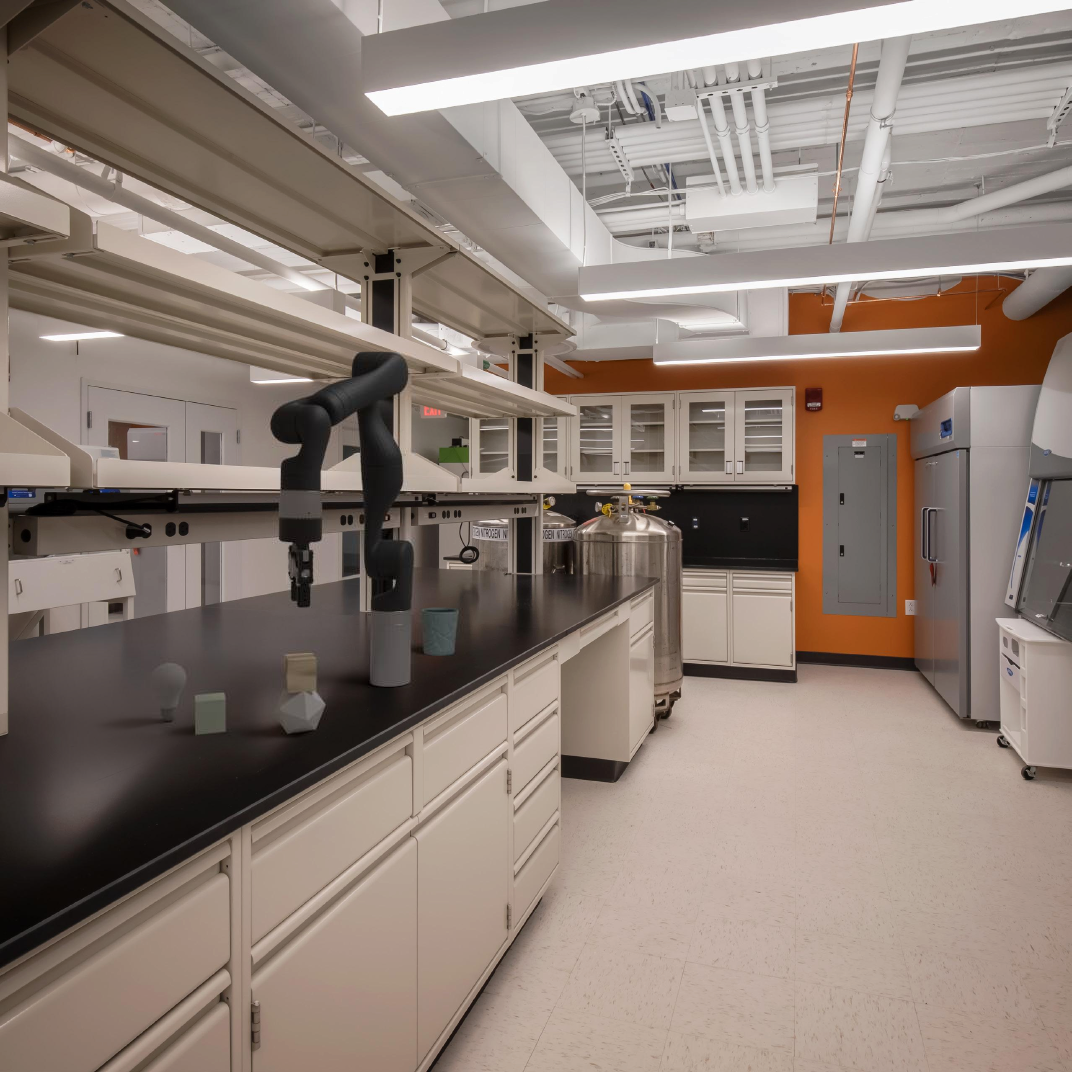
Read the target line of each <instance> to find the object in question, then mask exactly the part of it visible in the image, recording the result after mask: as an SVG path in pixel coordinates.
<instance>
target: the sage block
mask: <svg viewBox="0 0 1072 1072" xmlns="http://www.w3.org/2000/svg"><path fill="white" fill-rule="evenodd" d="M226 703H227V701H226V694H225V692H216V693H215V692H214V693H213V692H212V693H202V694H195V695H194V730H195V731H194V732H195V733H194V734H195V736H196V735H205V734H207V735H208V734H218V733H224V732H225V733H226V732H227V731H226V726H227V725H226V724H227V723H226V722H227V721H226V719H227V715H226V714H227V713H226V712H227V711H226V709H227V708H226V707H227V706H226Z"/></svg>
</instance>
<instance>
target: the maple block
mask: <svg viewBox="0 0 1072 1072" xmlns="http://www.w3.org/2000/svg"><path fill="white" fill-rule="evenodd" d="M317 661H318V660H317V657H316V655H315V654H314V653H313V652H305V653H303V652H302V653H291V654H290V653H288V654H284V662H283V663H284V664H283V665H284V666H283V667H284V673H283V674H284V675H283V676H284V678H283V679H284V680H283V681H284V684H283V685H284V687H283V688H285V689H286V691H287V693H296V692H307V691H316V692H317Z"/></svg>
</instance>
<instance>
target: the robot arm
mask: <svg viewBox="0 0 1072 1072" xmlns="http://www.w3.org/2000/svg"><path fill="white" fill-rule="evenodd" d="M408 381H409V367H408V364H407V361H406V359H405V357H404V356H402V355H401V354H400V353H397V352H394V351H393V352H392V351H361V352H357V353H356V354H355V356H354V358H353V360H352V364H351V377H350V378H346V379H342V380H338V381H336V382H333V383H330V384H328V385H326V386H324V387H323V388H321V389H320V390H318V391H316V392H315V393H314V394H311V395H309V396H304V397H301V398H298V399H295V400H292V401H289V402H285V403H284V404H282V405H280V406H278V407H277V408H276V410H275V411H274V412H273V414H272V415H271V419H270V423H269V424H270V425H269V428H270V432H271V434H272V435H273V437H274V438H275V440H277V441H279V442H281V444H286V445H300V449H299V450H298V452H297V454H296V455H294V456H291V457H287V458H285V459H283V460H282V462H281V464H280V476H279V477H280V492H279V494H280V495H279V498H278V499H279V501H278V540H279V541H280V542H282V543H291V544H289V545H288V547H287V548H288V549H287V550H288V552H287V560H288V562H287V563H288V565H287V569H288V570H287V572H288V573H287V574H288V576H289V577H288V578H289V580H290V599H291V601H292V602H296V606H297V607H298V608H309V607H310V606H311V587H312V585H313V584H314V582H315V579H314V554H315V553H314V550H313V549H310V544H311V543H319V542H321V541H322V539H323V500H322V491H321V490H322V466H323V462H324V459H325V456H326V452H327V448H328V445H329V442H330V438H331V434H332V427H335V426H337V425H338V424H340V423H341V422H343V421H344V420H346V419H347V418H348V417H350V416H351V415H353V414H354V413H356V418H357V424H358V435H359V436H358V438H359V453H360V455H359V456H360V459H359V461H360V475H361V487H362V497H363V499H362V500H363V514H364V515H363V518H364V520H363V521H364V525H363V526H364V527H363V530H364V533H363V534H364V535H363V564H364V565H363V566H364V569H365V570H364V571H365V573H366V575H367V577H368V578H369V579H373V580H391V581H395V582H394V583H395V584H394V587H392V588H391V589H390V590H388V591H385V592H382V593H378V594H375V595H374V596H372V597H371V600H370V649H369V651H370V652H369V653H370V654H369V655H370V656H369V657H370V659H369V675H370V676H369V683H370V684H371V685H372V686H378V687H386V688H387V687H388V688H389V687H400V686H405V685H407V684H409V683H411V661H412V658H411V657H412V656H411V653H412V652H411V651H412V650H411V649H412V648H411V647H412V646H411V645H412V642H411V641H412V601H413V600H412V598H413V579H414V578H413V576H414V566H415V565H414V564H415V552H414V546H413V544H412V543H411V542H410V541H409V540H404V539H403V540H402V539H382V530H383V526H384V521H385V519H386V516H387V515H388V512H389V511H390V509H391V507H392V506H393V505H394V502H395V501H396V499H397V498H398V495H399V494H400V492H401V490H402V488H403V486H404V485H403V484H404V469H403V468H404V465H403V456H402V455H403V454H402V452H401V448H400V447H399V445H398V444H397V442H396V440H395V438H394V437H393V435H392V434H391V432H390V430H389V429H388V428H387V426H386V425H385V422H384V420H383V418H382V415H381V410H380V408H379V401H382V400H384V399H386V398H390V397H393V396H396V395H399V394H400V393H402V392H403V391H404V389H406V386H407V384H408Z"/></svg>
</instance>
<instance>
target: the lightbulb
mask: <svg viewBox="0 0 1072 1072" xmlns="http://www.w3.org/2000/svg"><path fill="white" fill-rule="evenodd" d="M149 682H150V686H151V688H152V690H153V692H154V693H155V695H156V696H157V699H158V704H159V705H158V706H159V708H160V716H161V719H162V720H165V721H166V722H171V721H172V720H173V719H174V718H176V717H177V707H178V706H179V697H180V695H181V693H182V691H183V689H184V687H185V686H186V683H187V674H186V671H185V669H184V668H183V667H182V666H180V665H179V664H177V663H174V662H166V663H163V664H160V665H159V666H157V667H156V668H155V669H154V670H153V672H151V675H150V680H149Z"/></svg>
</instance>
